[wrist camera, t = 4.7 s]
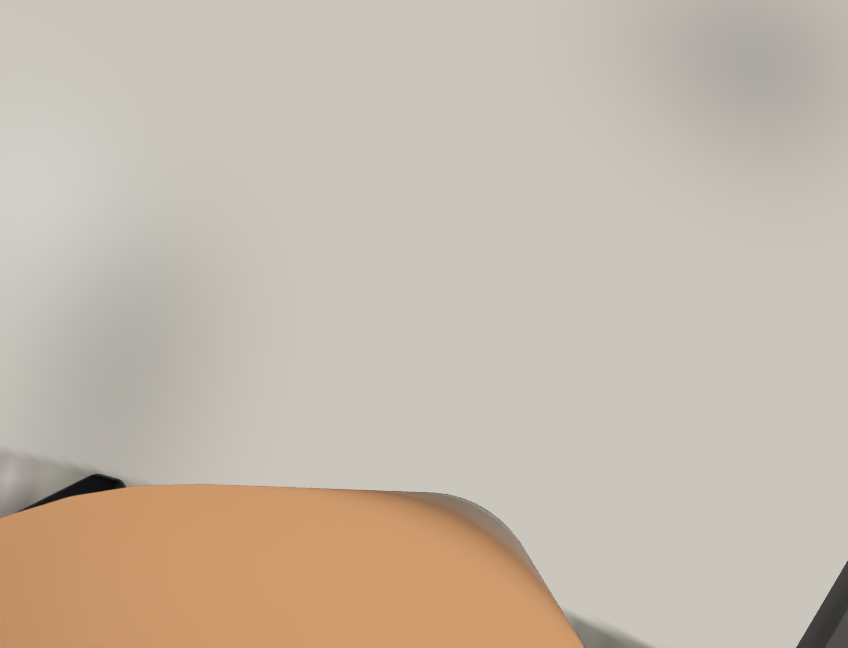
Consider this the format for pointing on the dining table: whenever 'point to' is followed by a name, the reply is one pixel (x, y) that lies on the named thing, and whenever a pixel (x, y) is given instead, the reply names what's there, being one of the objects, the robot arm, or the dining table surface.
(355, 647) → the peach bulb knob
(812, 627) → the housing
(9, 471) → the dining table surface
